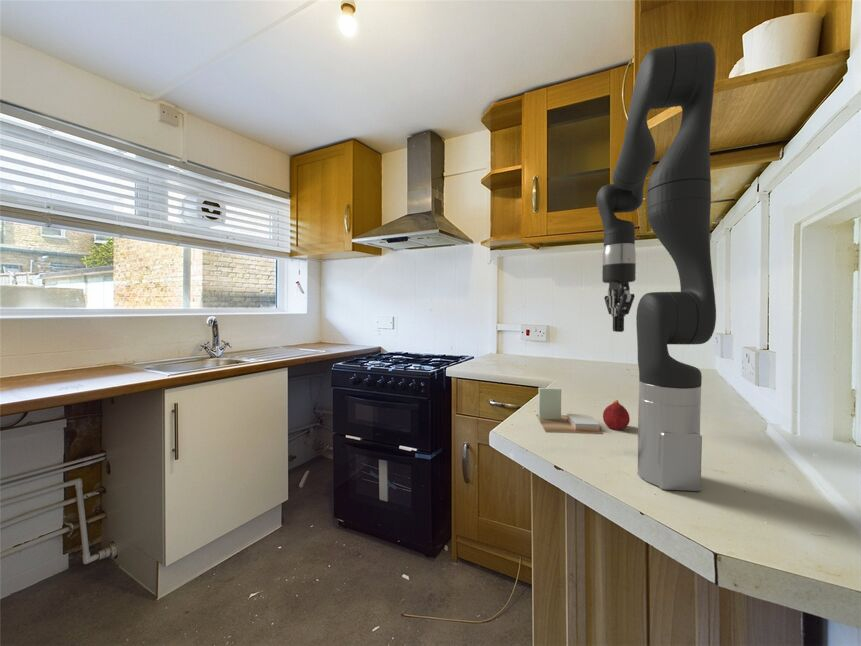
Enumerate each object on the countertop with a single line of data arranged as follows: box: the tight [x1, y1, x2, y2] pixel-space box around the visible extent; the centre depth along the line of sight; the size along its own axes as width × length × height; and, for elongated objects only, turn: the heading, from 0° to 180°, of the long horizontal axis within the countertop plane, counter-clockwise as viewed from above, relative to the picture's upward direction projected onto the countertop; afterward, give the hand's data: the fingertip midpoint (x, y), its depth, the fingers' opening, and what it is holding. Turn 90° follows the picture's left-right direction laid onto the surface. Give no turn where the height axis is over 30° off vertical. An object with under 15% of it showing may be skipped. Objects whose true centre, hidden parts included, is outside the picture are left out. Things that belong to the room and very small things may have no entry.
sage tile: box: [537, 387, 562, 420], centre depth 97 cm, size 2×6×8 cm, turn 83°
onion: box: [602, 399, 631, 431], centre depth 89 cm, size 6×6×8 cm
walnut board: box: [535, 414, 604, 435], centre depth 93 cm, size 14×13×1 cm
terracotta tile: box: [566, 413, 601, 431], centre depth 91 cm, size 2×6×8 cm
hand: (618, 331), depth 94 cm, fingers closed
